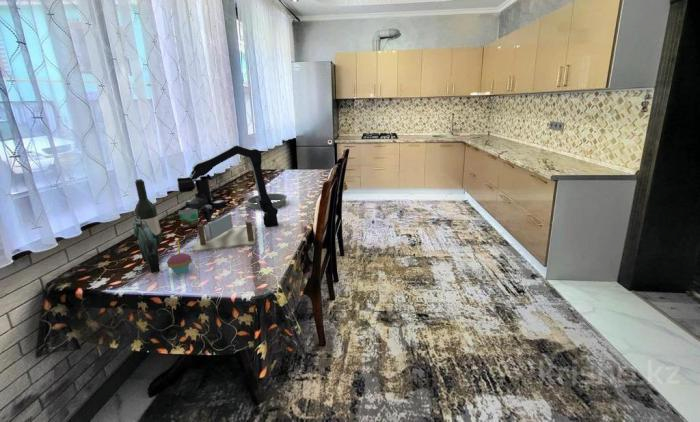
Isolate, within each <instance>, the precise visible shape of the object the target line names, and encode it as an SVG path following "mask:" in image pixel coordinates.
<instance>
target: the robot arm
mask: <svg viewBox="0 0 700 422" xmlns="http://www.w3.org/2000/svg"><path fill="white" fill-rule="evenodd" d="M236 155H239V156H240V155H241V156H243V157H246V159H247V161H248V163H249V165H250V166H251V169H252V173H253V177H254V181H255V186H256V190H257V195H258V198H256V201H257V206H258V207H259V208H260V209H261V211H262V212H263V216H262V217H263V219H262V220H263V225H264V227H265V228H268V227H276V226H279V222H278V213H279V212H278V211H279V210H278V208H274V207H273V205H272V202H271V200H270V198H269V196H268V194H269V193H268V192H267V188H266V187H267V186H266V183H265V177H264V175H263V171H262V170H263V169H262V161H263V160H262V152H261V151H260V150H259V149H256V148H253V147H251V148H246V147H243V146H240V145H237V144H233V145H232V146H231V147H229V148H226V149H224V150H223V151H220V152H219V153H217V154H215V155H214V156H211V157H209V158H206V159H202V160H199V161H196V162H194V163H193V164H192V171H191V172H190V174H189V176H186V177H184V176H183V177H177V178H176V180H177V181H176V182H177V188H178V189H177V190H178V192H179V194H183V193H189V192H190V193H191V192H193V191H194V190H195V189H196V192H195V193H194V197H193V198H192V199H190V200H187V201H186V202H185V204H184V205H185V208H191V209H197V210H198V211H199V212H201V214H202V215H203V217H204V218H205V220H206V222H207V223H211V219H212V216H213V214H214V211H215V210H221V209H223V208H226V207H228V205H227V201H226V200H224V199H223V200H219V199H218V200H216V201H215V199H214V198H212V193H213V190H211V188H210V180H213V179H214V177H212V176H211V175H210V174H209V172H211V170H213V169H214V168H215V167H216V166H217V165H220V164H222V163H223V162H225V161H227V160H229V159H230V158H232V157H235V156H236Z"/></svg>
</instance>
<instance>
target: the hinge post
mask: <svg viewBox="0 0 700 422" xmlns="http://www.w3.org/2000/svg"><path fill="white" fill-rule="evenodd" d="M196 227H197V232H198V238H199V239H200V244H201V245H206V240H205V234H204V232H205V230H204V224H203V223H202V224H201V223H200V224H198V225H197V226H196Z"/></svg>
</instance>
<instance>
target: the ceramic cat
mask: <svg viewBox="0 0 700 422" xmlns="http://www.w3.org/2000/svg"><path fill="white" fill-rule="evenodd" d="M134 219H135V220H134V221H135V222H133V223H132V224H133V235H134V237H135V238H137V240H138V246H139V250H140V255H141V258H142V261H143V262H144V263H145V262H147V265H148V269H149V271H150V273H151V274H152V273H153V274H155V273H154V272H156V273H160V272H159V271H161V269H160V259H159V249H158V248H159V247H158V244H157V240H156V237H155V234H154V233H153V232H152V231H151V230H150V228H149V226H148V225H147V222H146V221H145V220H143V221H141V217H140V216H139V219H140V221H139V220H137V218H134Z"/></svg>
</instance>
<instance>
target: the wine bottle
mask: <svg viewBox="0 0 700 422" xmlns="http://www.w3.org/2000/svg"><path fill="white" fill-rule="evenodd" d="M134 183H135V188H136V192H137V197H138V202H137V204H136V206H135V208H134V211H135V213H134V214H135V217H136V219H137V220H139V221H140V219H139V216H140V217H141V221H143V220H145V221H146V222H147V225H148V226H149V228H150V230H151V231H152V232H153V233H154V234H155V237H156V240H157V245H158V244H160V243H162V242H163V237H162V231H161V226H160V221H159V217H158V211H157V208H156V206H155V205H154V204H153V203H152V202H151V201H150V200H149V199H148V193H147V190H146V185H145V184H146V183H145V181H144V180H143V179H142V178H137V179H135V181H134Z"/></svg>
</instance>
